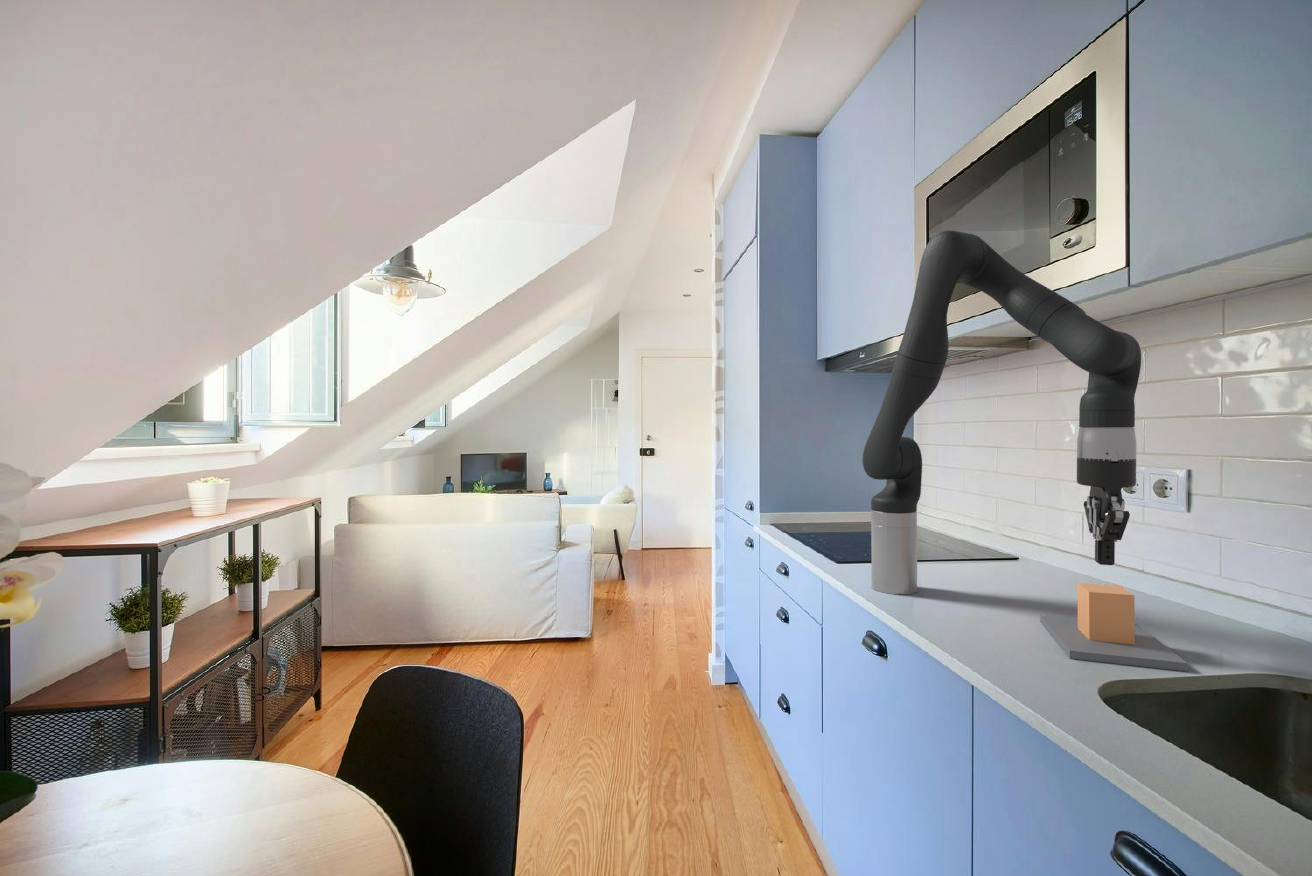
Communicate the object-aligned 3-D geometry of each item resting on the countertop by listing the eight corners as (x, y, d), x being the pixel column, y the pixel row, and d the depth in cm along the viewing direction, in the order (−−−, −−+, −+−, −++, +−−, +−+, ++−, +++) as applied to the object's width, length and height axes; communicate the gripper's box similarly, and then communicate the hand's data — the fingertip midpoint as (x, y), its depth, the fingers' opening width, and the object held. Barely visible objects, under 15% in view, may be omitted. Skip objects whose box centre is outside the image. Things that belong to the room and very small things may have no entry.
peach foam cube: (1077, 628, 97) (1077, 582, 97) (1120, 632, 95) (1119, 585, 95) (1089, 640, 92) (1089, 591, 92) (1134, 644, 90) (1134, 595, 90)
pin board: (1040, 621, 104) (1040, 581, 104) (1136, 630, 99) (1136, 588, 99) (1069, 658, 88) (1069, 610, 88) (1187, 671, 83) (1187, 620, 82)
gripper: (1065, 453, 101) (1064, 553, 101) (1091, 457, 88) (1090, 571, 89) (1119, 454, 98) (1117, 557, 98) (1152, 458, 86) (1151, 576, 86)
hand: (1104, 563), depth 94 cm, fingers closed
